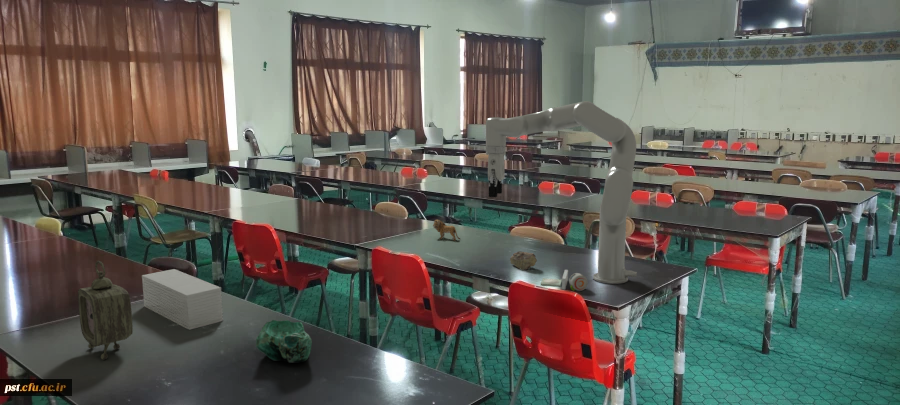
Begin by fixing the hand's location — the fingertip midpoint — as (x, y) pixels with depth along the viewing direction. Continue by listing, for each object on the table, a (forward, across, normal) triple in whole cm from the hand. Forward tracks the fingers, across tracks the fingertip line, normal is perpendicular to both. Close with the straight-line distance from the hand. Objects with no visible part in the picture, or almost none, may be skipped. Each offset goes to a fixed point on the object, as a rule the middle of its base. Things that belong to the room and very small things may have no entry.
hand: (495, 195), depth 246 cm
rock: (+31, +10, -10) cm, 34 cm away
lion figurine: (+31, +54, +34) cm, 71 cm away
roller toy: (+31, -15, -33) cm, 47 cm away
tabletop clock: (+31, -104, +86) cm, 138 cm away
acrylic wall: (+31, -10, -28) cm, 43 cm away
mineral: (+31, -97, +37) cm, 108 cm away
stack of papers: (+31, -72, +87) cm, 117 cm away
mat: (+31, -9, -23) cm, 39 cm away
